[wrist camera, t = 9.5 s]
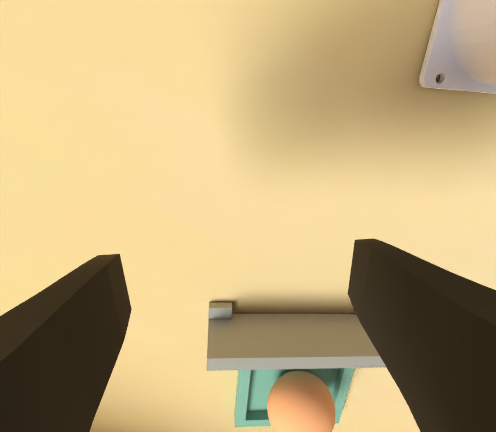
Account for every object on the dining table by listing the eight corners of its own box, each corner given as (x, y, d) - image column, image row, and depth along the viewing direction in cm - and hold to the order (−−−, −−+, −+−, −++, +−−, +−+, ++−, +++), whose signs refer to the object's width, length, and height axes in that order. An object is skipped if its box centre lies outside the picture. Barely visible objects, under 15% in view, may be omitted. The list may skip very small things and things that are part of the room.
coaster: (355, 333, 25) (361, 344, 24) (334, 411, 28) (338, 423, 27) (241, 334, 24) (242, 345, 23) (234, 414, 27) (235, 427, 26)
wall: (394, 303, 24) (427, 343, 20) (385, 333, 25) (414, 377, 21) (209, 302, 22) (207, 346, 18) (208, 334, 23) (206, 382, 20)
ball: (321, 351, 25) (349, 410, 20) (320, 395, 27) (345, 458, 22) (260, 361, 24) (274, 425, 20) (263, 405, 26) (276, 472, 22)
